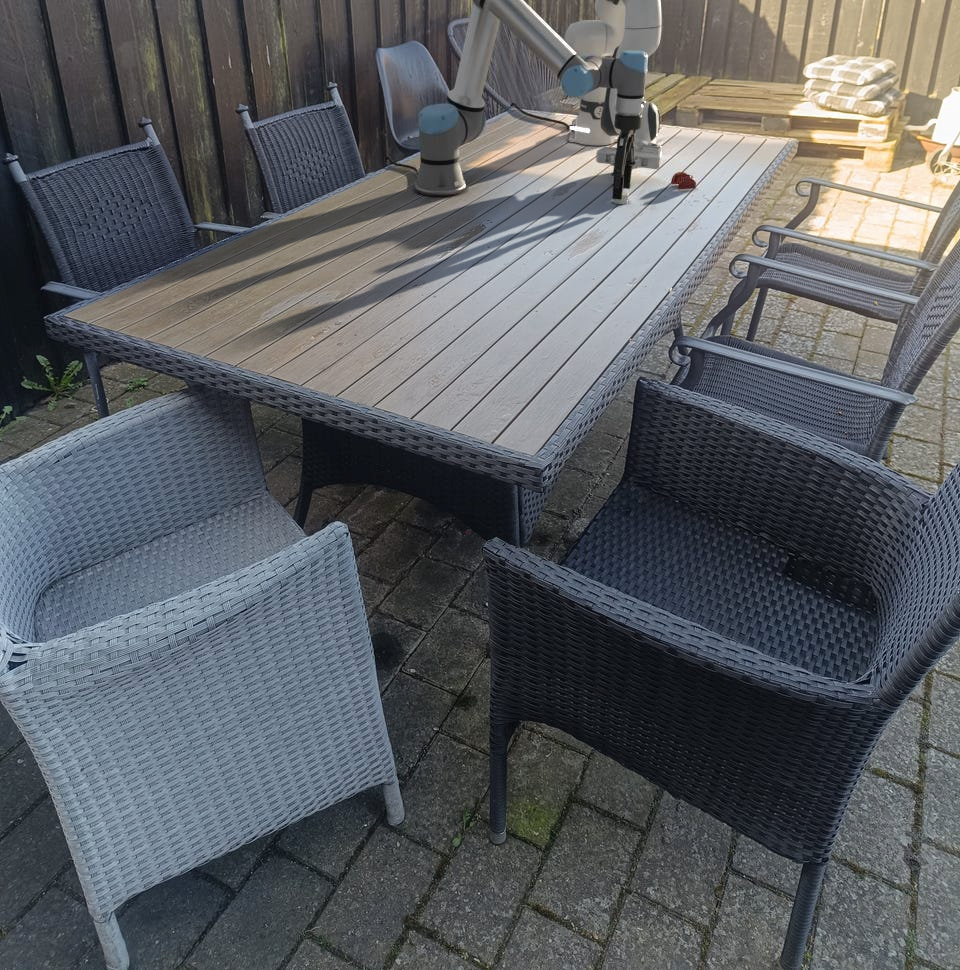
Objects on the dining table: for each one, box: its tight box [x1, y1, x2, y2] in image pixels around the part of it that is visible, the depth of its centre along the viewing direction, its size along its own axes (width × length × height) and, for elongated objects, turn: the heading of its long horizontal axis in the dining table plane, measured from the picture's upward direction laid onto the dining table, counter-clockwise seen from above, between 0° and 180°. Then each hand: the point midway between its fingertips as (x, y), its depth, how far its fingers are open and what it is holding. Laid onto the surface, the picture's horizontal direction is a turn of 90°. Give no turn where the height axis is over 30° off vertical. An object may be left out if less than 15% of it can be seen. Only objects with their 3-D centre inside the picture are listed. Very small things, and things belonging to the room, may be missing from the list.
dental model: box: [670, 171, 697, 190], centre depth 260 cm, size 6×4×8 cm
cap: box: [612, 190, 630, 205], centre depth 248 cm, size 4×4×3 cm
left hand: (621, 193), depth 247 cm, fingers open, 10 cm apart
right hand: (622, 164), depth 258 cm, fingers closed on bottle, 4 cm apart
